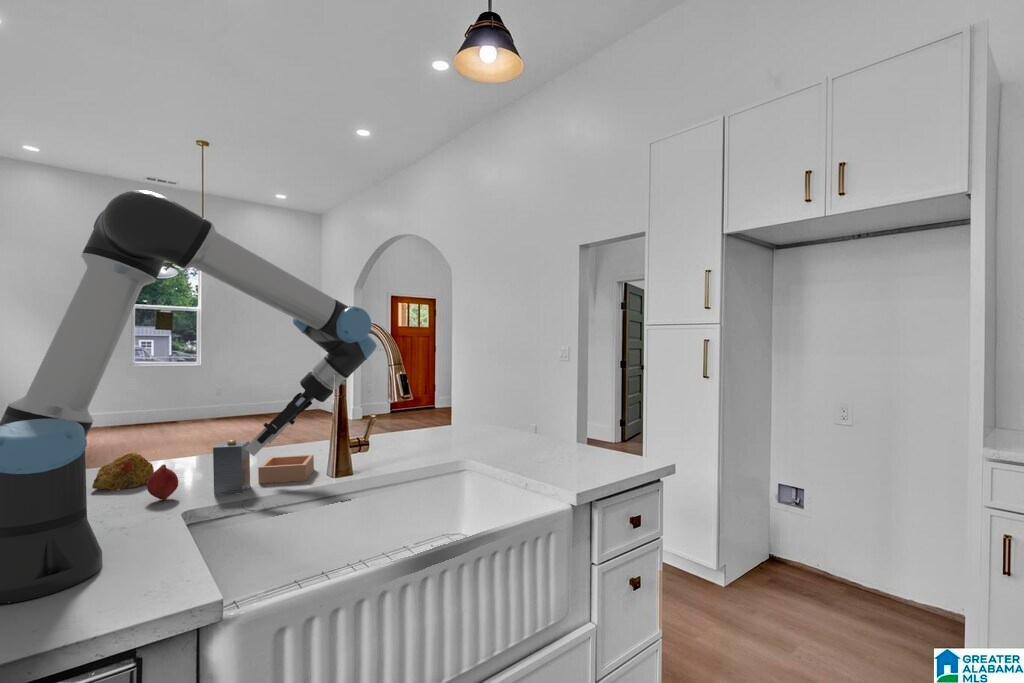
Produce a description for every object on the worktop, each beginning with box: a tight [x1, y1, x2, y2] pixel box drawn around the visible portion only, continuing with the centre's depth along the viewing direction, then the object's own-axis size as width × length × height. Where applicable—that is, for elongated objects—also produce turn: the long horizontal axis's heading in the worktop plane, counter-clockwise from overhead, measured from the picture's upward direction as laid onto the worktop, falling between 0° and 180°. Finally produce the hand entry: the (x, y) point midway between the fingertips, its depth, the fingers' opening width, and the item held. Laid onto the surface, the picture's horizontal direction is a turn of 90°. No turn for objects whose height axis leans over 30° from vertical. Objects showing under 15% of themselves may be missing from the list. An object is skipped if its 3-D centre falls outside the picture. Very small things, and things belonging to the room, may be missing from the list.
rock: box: [91, 452, 155, 491], centre depth 127 cm, size 11×8×10 cm
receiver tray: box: [257, 454, 315, 484], centre depth 133 cm, size 11×11×4 cm
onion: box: [146, 463, 180, 501], centre depth 115 cm, size 6×6×8 cm
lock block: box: [212, 439, 251, 496], centre depth 121 cm, size 6×6×12 cm
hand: (258, 445), depth 123 cm, fingers open, 13 cm apart
